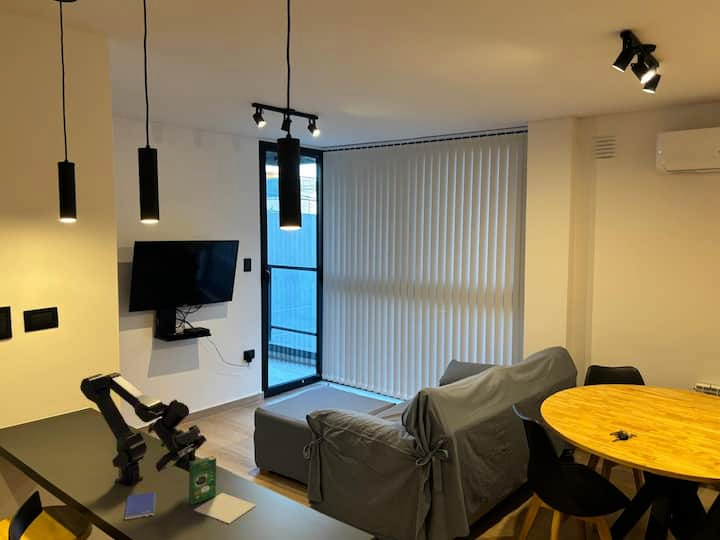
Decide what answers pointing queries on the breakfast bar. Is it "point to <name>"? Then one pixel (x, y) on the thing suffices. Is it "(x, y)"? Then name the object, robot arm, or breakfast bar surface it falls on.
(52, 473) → the breakfast bar surface
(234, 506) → the mat
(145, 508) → the hard drive
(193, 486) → the coffee box
